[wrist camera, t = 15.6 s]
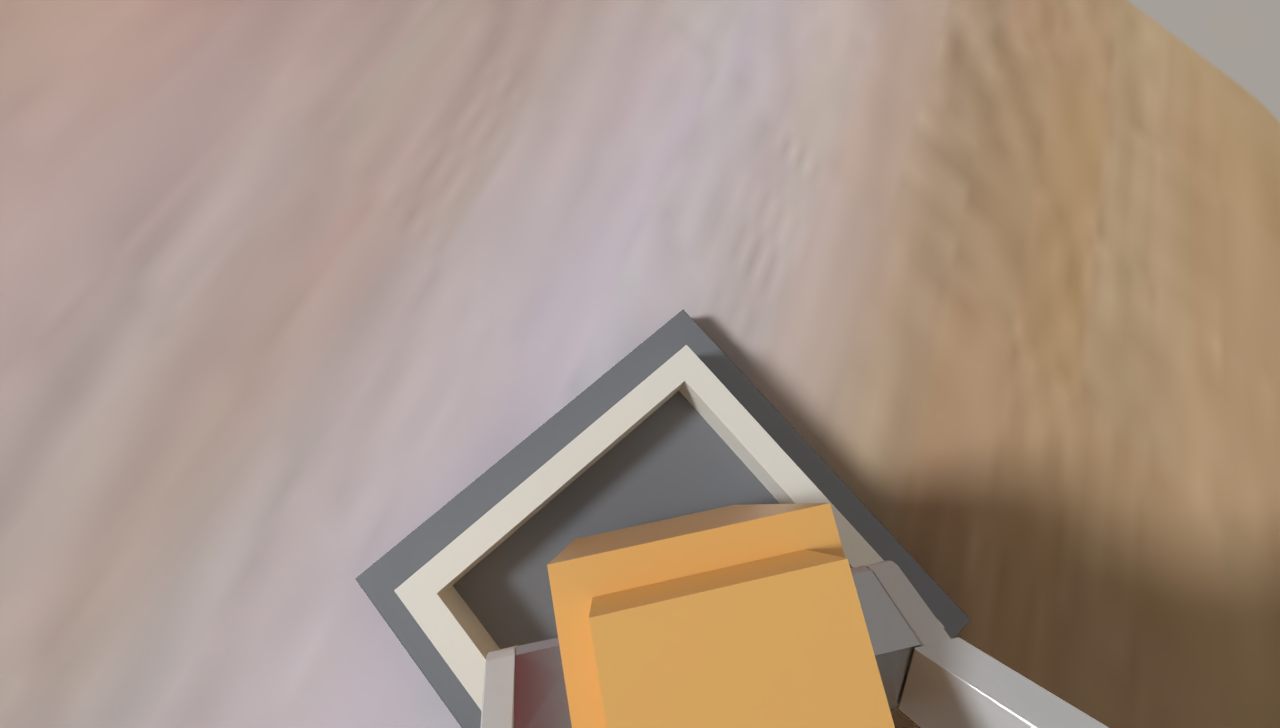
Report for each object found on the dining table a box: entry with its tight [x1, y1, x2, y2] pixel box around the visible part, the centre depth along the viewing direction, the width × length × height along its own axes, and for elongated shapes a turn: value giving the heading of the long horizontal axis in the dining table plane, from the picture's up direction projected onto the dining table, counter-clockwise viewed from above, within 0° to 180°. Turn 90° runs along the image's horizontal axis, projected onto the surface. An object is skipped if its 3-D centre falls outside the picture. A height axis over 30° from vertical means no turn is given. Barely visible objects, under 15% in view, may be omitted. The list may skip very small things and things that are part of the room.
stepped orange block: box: [547, 503, 895, 728], centre depth 11 cm, size 5×5×9 cm
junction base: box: [356, 310, 970, 728], centre depth 16 cm, size 13×13×2 cm
